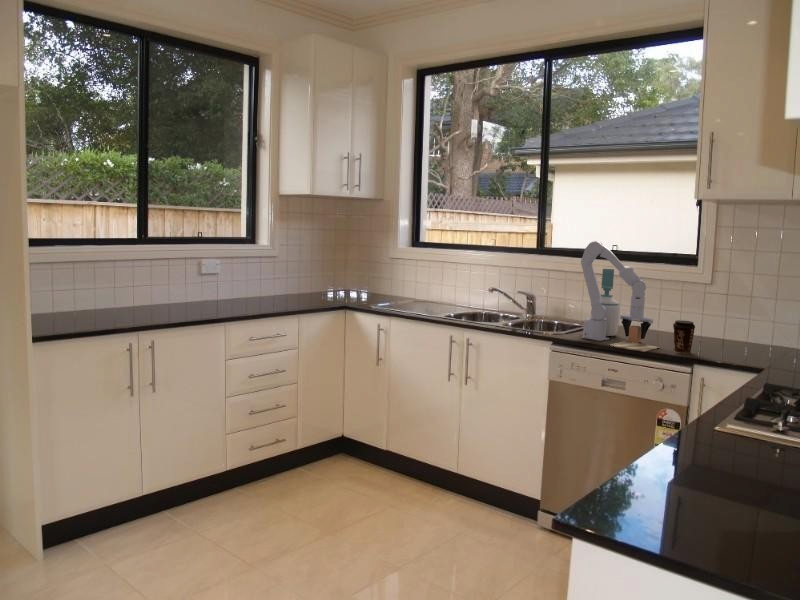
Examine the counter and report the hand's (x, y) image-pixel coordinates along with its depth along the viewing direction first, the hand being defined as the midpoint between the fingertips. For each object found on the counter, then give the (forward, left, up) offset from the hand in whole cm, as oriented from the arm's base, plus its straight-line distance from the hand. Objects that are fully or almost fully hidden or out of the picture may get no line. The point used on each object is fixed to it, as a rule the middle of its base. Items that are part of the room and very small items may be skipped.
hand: (635, 337), depth 304 cm
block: (0, 0, -2) cm, 2 cm away
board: (+5, -11, -2) cm, 12 cm away
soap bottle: (-19, +6, -2) cm, 20 cm away
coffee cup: (+23, -5, -2) cm, 24 cm away
